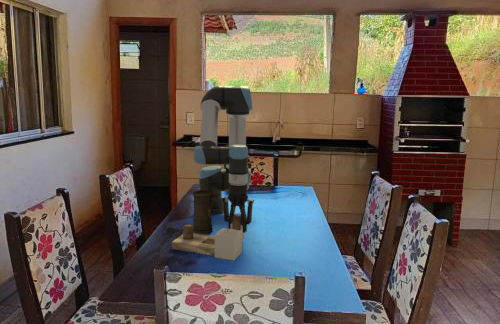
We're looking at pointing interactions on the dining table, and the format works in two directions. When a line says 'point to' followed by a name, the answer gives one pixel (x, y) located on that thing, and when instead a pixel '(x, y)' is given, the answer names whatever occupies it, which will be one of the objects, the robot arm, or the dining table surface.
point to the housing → (228, 244)
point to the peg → (237, 221)
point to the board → (194, 242)
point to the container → (202, 212)
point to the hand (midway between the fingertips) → (237, 238)
